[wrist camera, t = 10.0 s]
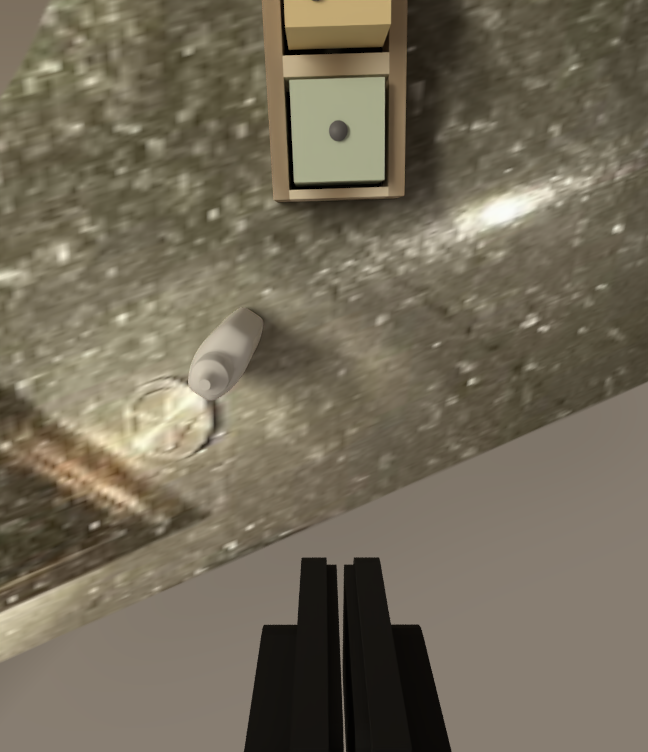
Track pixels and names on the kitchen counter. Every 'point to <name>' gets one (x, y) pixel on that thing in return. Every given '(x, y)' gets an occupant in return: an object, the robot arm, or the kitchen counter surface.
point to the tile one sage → (338, 131)
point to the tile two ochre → (336, 23)
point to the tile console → (332, 67)
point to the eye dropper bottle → (225, 354)
